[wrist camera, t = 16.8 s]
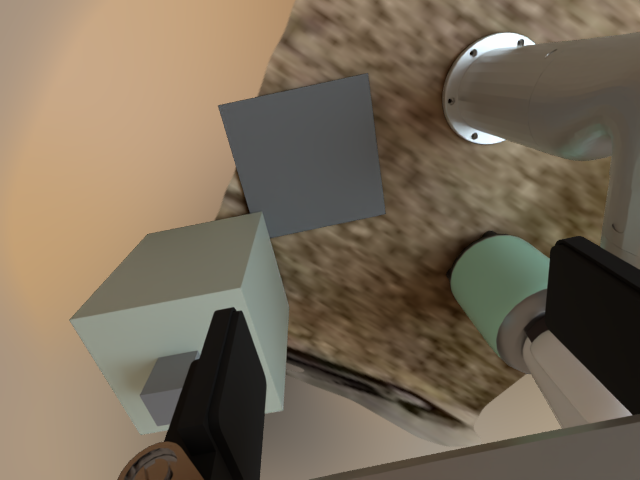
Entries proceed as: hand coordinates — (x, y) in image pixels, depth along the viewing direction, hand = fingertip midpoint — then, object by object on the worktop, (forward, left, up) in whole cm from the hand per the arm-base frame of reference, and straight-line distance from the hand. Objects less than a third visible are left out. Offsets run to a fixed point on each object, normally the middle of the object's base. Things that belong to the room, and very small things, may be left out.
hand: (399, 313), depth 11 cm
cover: (+17, +17, -38) cm, 45 cm away
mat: (+2, +4, -38) cm, 39 cm away
